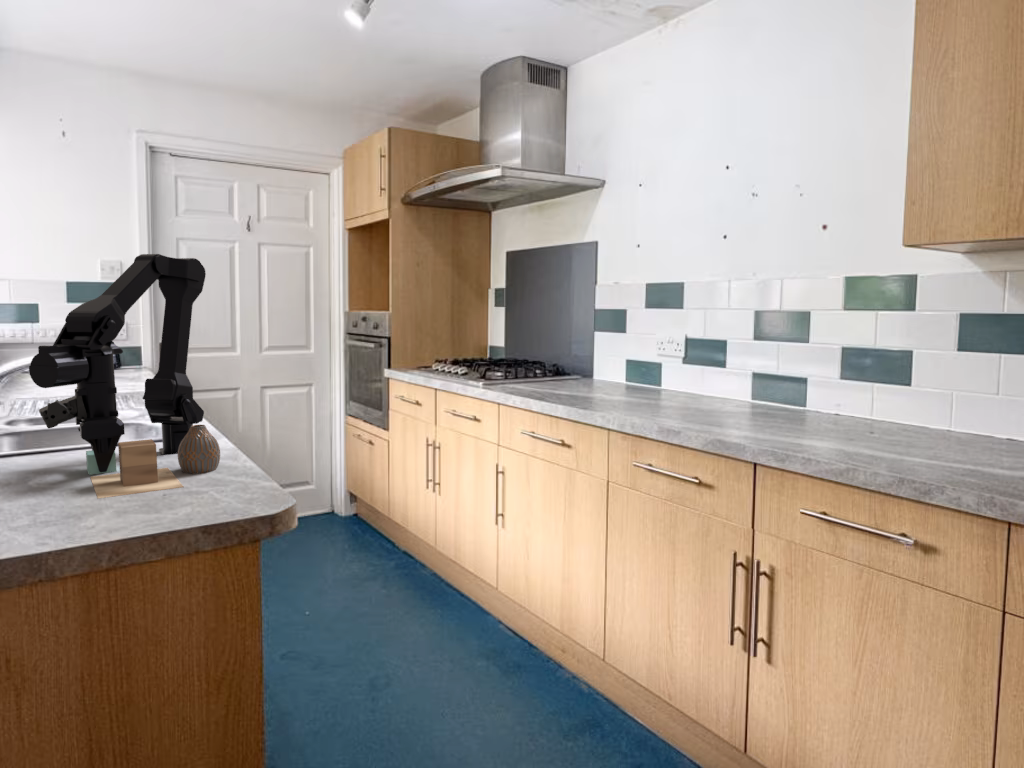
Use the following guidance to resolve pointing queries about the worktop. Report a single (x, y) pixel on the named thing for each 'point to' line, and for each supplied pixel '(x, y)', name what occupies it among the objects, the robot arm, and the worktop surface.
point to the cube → (92, 464)
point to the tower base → (138, 474)
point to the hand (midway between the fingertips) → (101, 469)
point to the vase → (198, 451)
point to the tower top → (137, 453)
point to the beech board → (114, 486)
